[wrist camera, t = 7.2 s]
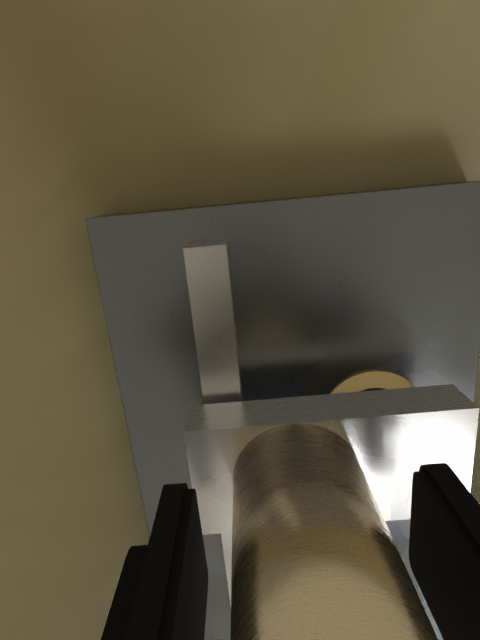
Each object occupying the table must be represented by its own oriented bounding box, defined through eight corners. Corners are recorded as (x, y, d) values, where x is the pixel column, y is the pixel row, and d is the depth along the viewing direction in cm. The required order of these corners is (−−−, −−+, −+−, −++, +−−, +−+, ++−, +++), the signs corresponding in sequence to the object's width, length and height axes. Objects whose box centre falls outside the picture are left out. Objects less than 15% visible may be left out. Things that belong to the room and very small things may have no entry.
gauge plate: (468, 181, 13) (871, 164, 5) (428, 664, 20) (560, 994, 12) (101, 215, 13) (-123, 256, 5) (190, 680, 20) (158, 1014, 12)
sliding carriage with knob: (439, 372, 13) (882, 769, 4) (432, 465, 14) (768, 938, 5) (192, 393, 13) (96, 816, 4) (204, 483, 14) (150, 968, 5)
